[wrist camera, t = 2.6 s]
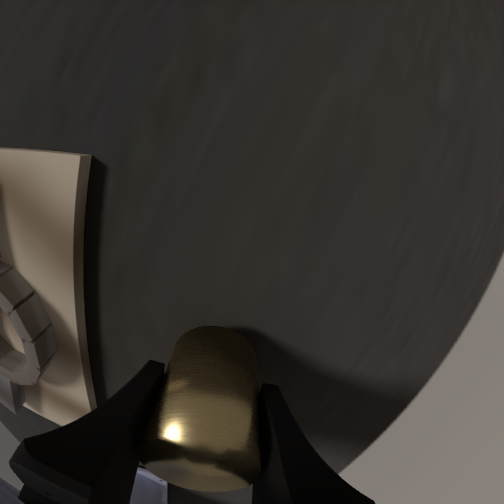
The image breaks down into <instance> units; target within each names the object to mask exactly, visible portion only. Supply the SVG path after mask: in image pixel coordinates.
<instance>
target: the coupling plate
mask: <svg viewBox="0 0 504 504" xmlns="http://www.w3.org/2000/svg"><path fill="white" fill-rule="evenodd" d="M91 157H92V155H87V154H78V153H69V152H59V151H48V150H35V149H21V148H3V147H0V402H1V403H2V404H3V405H5V406H6V407H7V408H8V409H10V410H11V411H12V412H13V413H15V414H17V412H18V411H19V410H20V408H21V407H22V405H23V406H25V407H27V408H28V409H30V410H32V411H34V412H36V413H37V414H39V415H41V416H43V417H45V418H47V419H49V420H51V421H53V422H55V423H57V424H59V425H61V426H64V425H66V424H69V423H71V422H73V421H75V420H77V419H79V418H80V417H82V416H84V415H86V414H87V413H89V412H91V411H92V410H94V409H95V408H97V403H96V398H95V393H94V387H93V382H92V375H91V369H90V361H89V354H88V345H87V335H86V324H85V310H84V286H83V247H84V223H85V209H86V197H87V188H88V179H89V171H90V164H91Z"/></svg>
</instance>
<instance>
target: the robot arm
mask: <svg viewBox="0 0 504 504" xmlns="http://www.w3.org/2000/svg"><path fill="white" fill-rule="evenodd" d="M164 367H165V364H164V363H160V362H157V361H153V360H150V361H148V362H147V363H146V364H145V365H144V366H143V368H142V369H141V370H140V371H139V372H138V373H137V374H136V375H135V376H134V377H133V378H132V379H131V380H130V381H129V382H128V383H127V384H126V385H124V386H123V387H122V388H121V389H120V390H119V391H118V392H117V393H115V394H114V395H113V396H112V397H110V398H109V399H108V400H107V401H105V402H104V403H103V404H101V405H100V406H98V407H97V408H95V409H94V410H92V411H91V412H89V413H87V414H86V415H84V416H82V417H80V418H79V419H77V420H75V421H73V422H71V423H69V424H66V425H64V426H62V427H59V428H57V429H54V430H52V431H49V432H46V433H43V434H40V435H36V436H33V437H29V438H25V439H24V440H23V441H22V443H21V444H20V445H19V446H18V448H17V449H16V451H15V452H14V454H13V456H12V458H11V459H10V461H9V464H10V467H11V469H12V470H13V472H14V473H15V474H16V475H17V476H18V477H19V479H20V480H21V481H22V482H23V483H24V486H23V488H22V490H21V491H19V490H18V489H16V488H15V487H13V486H12V485H10V484H9V483H7V482H6V481H4V480H3V479H2V478H0V504H167V497H168V482H166V481H164V480H162V479H160V478H158V477H157V476H155V475H154V474H152V473H151V472H150V471H148V470H147V469H143V468H140V467H138V465H139V462H140V460H139V457H138V450H139V447H140V444H141V440H142V437H143V434H144V431H145V428H146V426H147V423H148V420H149V417H150V414H151V411H152V408H153V405H154V402H155V399H156V396H157V394H158V391H159V388H160V385H161V382H162V380H163V377H164ZM259 416H260V453H261V474H260V476H259V478H258V479H257V480H256V481H255V482H254V483H253V493H252V504H375V502H374V501H373V500H371V499H370V498H368V497H367V496H365V495H363V494H362V493H360V492H359V491H357V490H356V489H355V488H353V487H352V486H350V485H349V484H348V483H347V482H346V481H344V480H343V479H342V478H341V477H340V476H339V475H338V474H337V473H336V472H334V471H333V470H332V469H331V468H330V467H329V466H328V465H327V464H326V462H325V461H324V460H323V459H322V458H321V457H320V456H319V454H318V453H317V452H316V451H315V450H314V448H313V447H312V446H311V444H310V443H309V442H308V440H307V439H306V437H305V436H304V434H303V433H302V431H301V429H300V428H299V426H298V424H297V423H296V421H295V419H294V418H293V416H292V414H291V412H290V410H289V408H288V406H287V404H286V402H285V400H284V398H283V396H282V394H281V391H280V389H279V387H278V386H277V385H271V384H264V383H263V384H262V387H261V390H260V392H259Z"/></svg>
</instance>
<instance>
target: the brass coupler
mask: <svg viewBox="0 0 504 504" xmlns="http://www.w3.org/2000/svg"><path fill="white" fill-rule="evenodd" d="M138 457H139V460H140V462H141V463H142V464H143V466H144V467H145V468H146V469H147V470H148V471H150V472H151V473H152V474H154V475H155V476H157V477H158V478H160V479H162V480H164V481H166V482H168V483H171V484H173V485H176V486H179V487H183V488H186V489H191V490H196V491H204V492H226V491H233V490H238V489H241V488H244V487H247V486H249V485H251V484H252V483H254V482H255V481H256V480H257V479H258V478H259V476H260V474H261V453H260V416H259V380H258V357H257V353H256V351H255V349H254V347H253V345H252V344H251V343H250V342H249V341H248V340H247V339H246V338H245V337H244V336H242V335H241V334H239V333H237V332H235V331H233V330H231V329H228V328H224V327H219V326H203V327H198V328H194V329H192V330H190V331H188V332H186V333H185V334H183V335H182V336H181V337H180V338H179V339H178V341H177V342H176V344H175V347H174V350H173V352H172V355H171V358H170V360H169V363H168V366H167V369H166V371H165V374H164V377H163V380H162V382H161V385H160V388H159V391H158V394H157V396H156V399H155V402H154V405H153V408H152V411H151V414H150V417H149V420H148V423H147V426H146V428H145V431H144V434H143V437H142V440H141V444H140V447H139V450H138Z"/></svg>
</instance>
